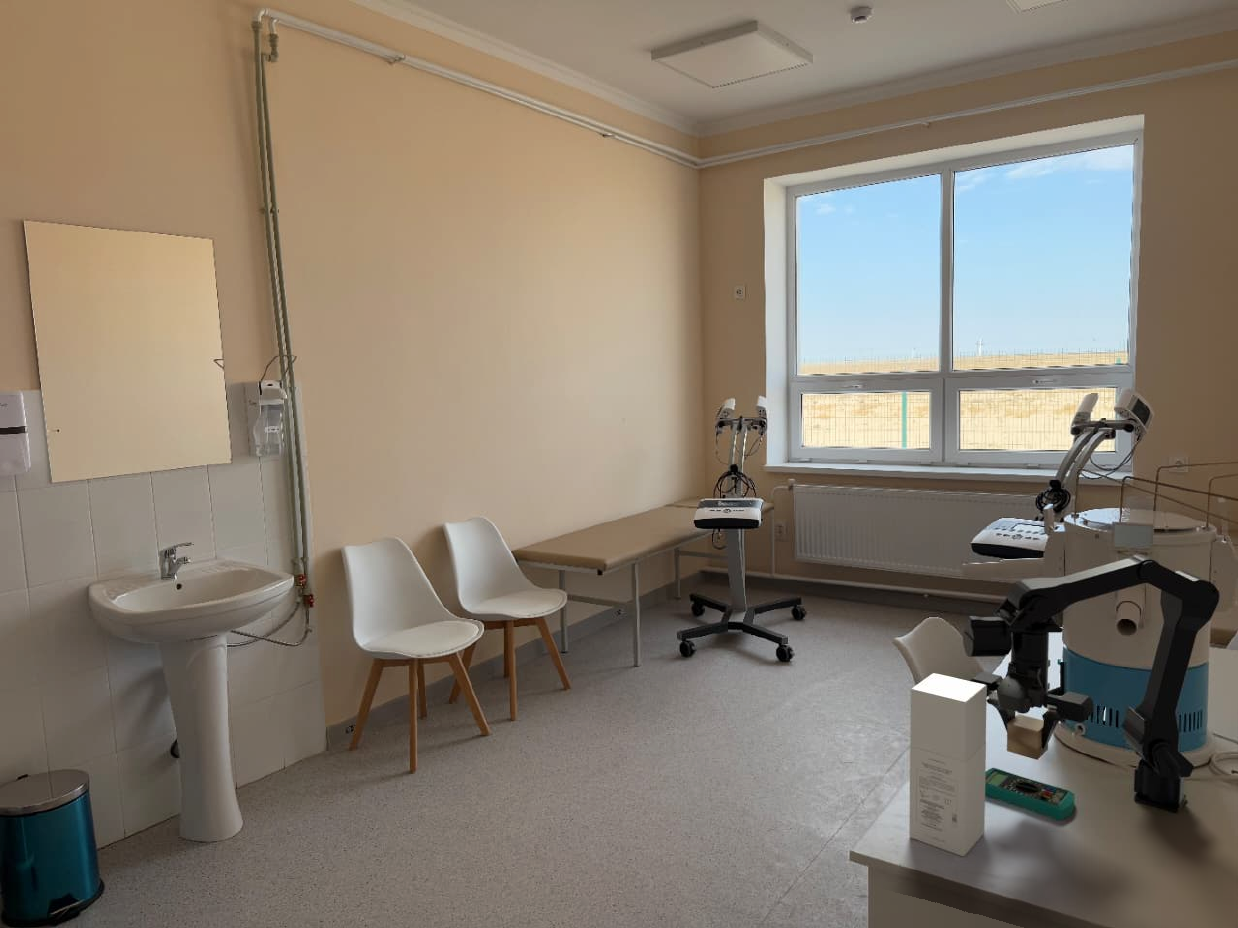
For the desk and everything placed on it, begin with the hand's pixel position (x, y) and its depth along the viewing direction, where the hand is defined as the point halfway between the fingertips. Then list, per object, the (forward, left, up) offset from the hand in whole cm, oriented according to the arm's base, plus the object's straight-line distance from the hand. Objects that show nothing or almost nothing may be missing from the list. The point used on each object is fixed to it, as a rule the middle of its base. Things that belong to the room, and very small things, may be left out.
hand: (1027, 743), depth 148 cm
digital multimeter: (0, 0, -11) cm, 11 cm away
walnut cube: (0, 0, -1) cm, 1 cm away
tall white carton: (+5, +20, -10) cm, 23 cm away
